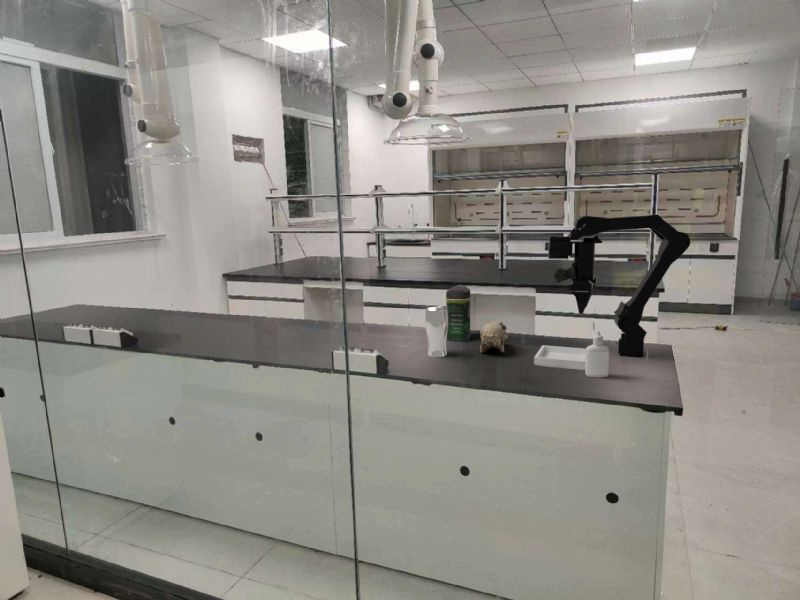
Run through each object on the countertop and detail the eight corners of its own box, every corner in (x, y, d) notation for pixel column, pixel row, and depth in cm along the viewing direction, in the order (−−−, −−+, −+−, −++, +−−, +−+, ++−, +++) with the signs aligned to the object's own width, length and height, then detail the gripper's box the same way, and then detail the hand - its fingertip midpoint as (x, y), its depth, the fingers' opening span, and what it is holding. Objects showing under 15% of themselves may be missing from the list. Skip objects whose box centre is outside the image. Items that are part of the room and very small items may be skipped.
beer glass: (451, 354, 167) (450, 306, 164) (445, 360, 160) (444, 310, 158) (429, 353, 169) (428, 305, 166) (423, 359, 162) (422, 310, 160)
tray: (590, 356, 160) (590, 348, 159) (586, 370, 147) (586, 361, 147) (542, 352, 165) (542, 345, 165) (533, 365, 153) (534, 357, 152)
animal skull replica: (512, 346, 174) (513, 315, 173) (503, 360, 159) (503, 327, 157) (487, 344, 177) (487, 314, 176) (476, 358, 162) (476, 325, 160)
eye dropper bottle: (605, 379, 139) (606, 334, 137) (583, 376, 142) (584, 331, 140) (610, 375, 142) (611, 330, 140) (588, 371, 146) (590, 328, 144)
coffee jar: (467, 344, 178) (467, 288, 174) (444, 343, 180) (443, 288, 177) (472, 337, 187) (472, 284, 184) (450, 336, 189) (449, 284, 186)
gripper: (560, 255, 171) (559, 303, 174) (551, 261, 154) (550, 315, 157) (597, 255, 167) (596, 305, 169) (592, 262, 150) (590, 317, 153)
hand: (582, 310), depth 162 cm, fingers open, 9 cm apart
